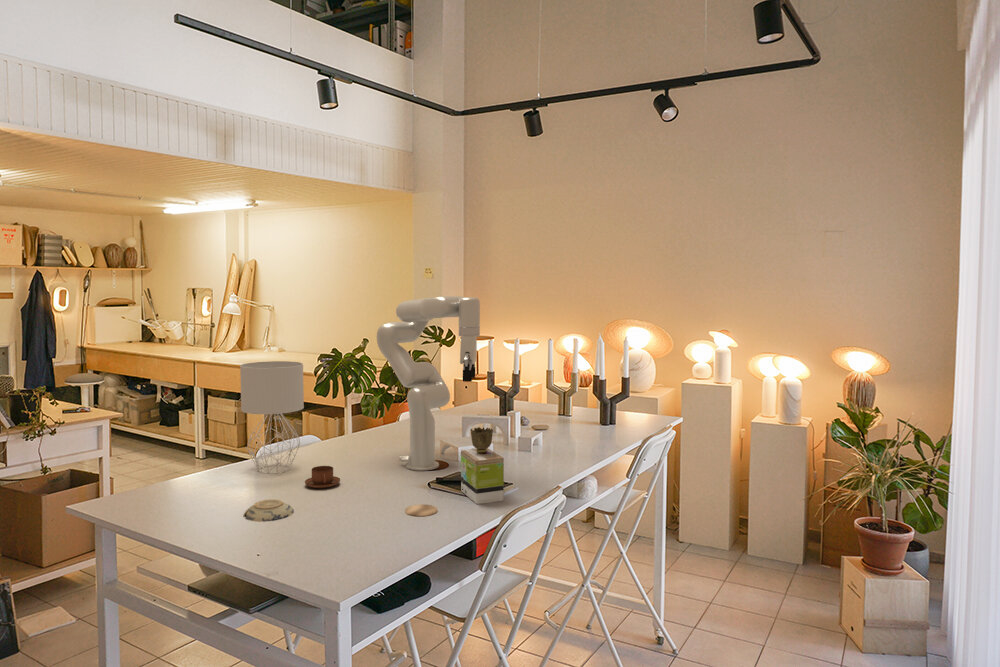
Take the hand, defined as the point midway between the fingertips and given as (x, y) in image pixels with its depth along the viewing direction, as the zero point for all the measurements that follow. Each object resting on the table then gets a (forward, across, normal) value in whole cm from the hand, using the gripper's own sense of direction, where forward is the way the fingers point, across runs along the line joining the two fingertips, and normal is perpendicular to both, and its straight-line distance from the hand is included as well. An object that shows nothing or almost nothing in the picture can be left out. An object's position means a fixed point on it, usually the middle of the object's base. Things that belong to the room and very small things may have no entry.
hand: (469, 379), depth 252 cm
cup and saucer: (+37, +13, -50) cm, 63 cm away
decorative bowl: (+37, +44, -56) cm, 80 cm away
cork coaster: (+36, +37, -10) cm, 53 cm away
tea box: (+37, +20, +7) cm, 42 cm away
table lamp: (+36, -5, -75) cm, 84 cm away
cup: (+22, +20, +7) cm, 31 cm away
